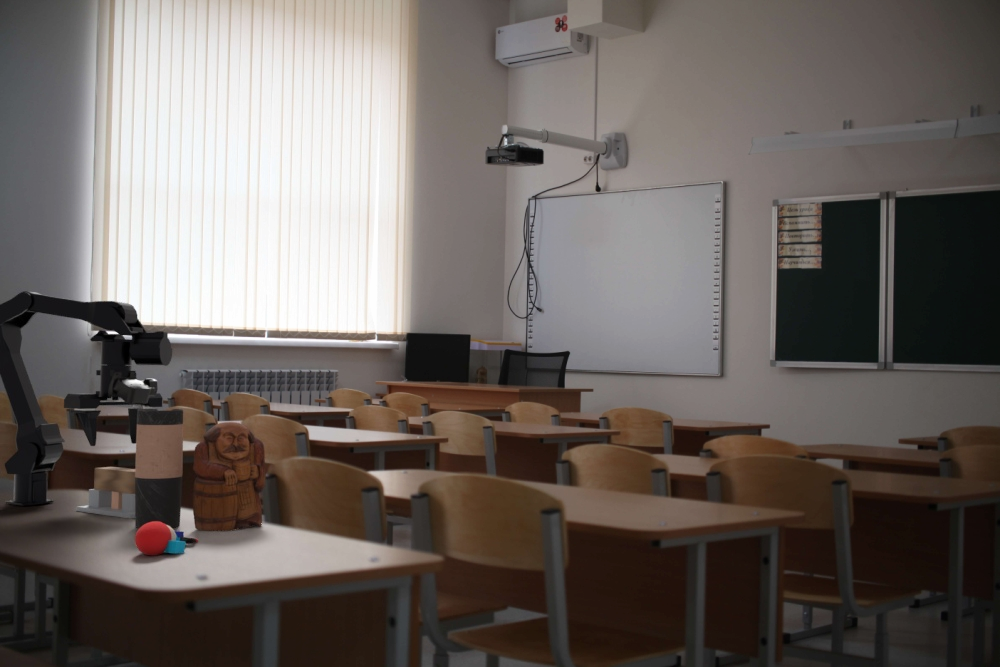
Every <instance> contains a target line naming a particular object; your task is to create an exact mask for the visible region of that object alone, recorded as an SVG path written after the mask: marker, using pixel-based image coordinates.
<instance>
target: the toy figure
mask: <svg viewBox="0 0 1000 667" xmlns="http://www.w3.org/2000/svg"><path fill="white" fill-rule="evenodd" d="M184 533H185V532H184V531H179V530H175V529H172V528H171V527H170V526H168V525H166V524H164V523H162V522H158V521H153V522H149V523H146V524H144V525H143V526H142V527H140V528H139V530H138V529H137V531H136V533H135V537H134V542H135V546H136V548H137V549H138V551H139V552H140V553H142V554H144V555H147V556H158V555H162V554H164V553H169V554H183V553H185V548H186V544H193V545H194V544H195V543H198V542H199V540H198V538H195V537H185V535H184Z"/></svg>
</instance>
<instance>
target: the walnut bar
mask: <svg viewBox="0 0 1000 667" xmlns="http://www.w3.org/2000/svg"><path fill="white" fill-rule="evenodd" d="M93 474H94V475H93V476H94V477H93V479H94V480H93V481H94V483H93V489H96V490H104V491H113V492H121V493H129V494H135V468H130V467H129V468H127V467H117V466H106V467H105V466H103V467H94V473H93Z"/></svg>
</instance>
